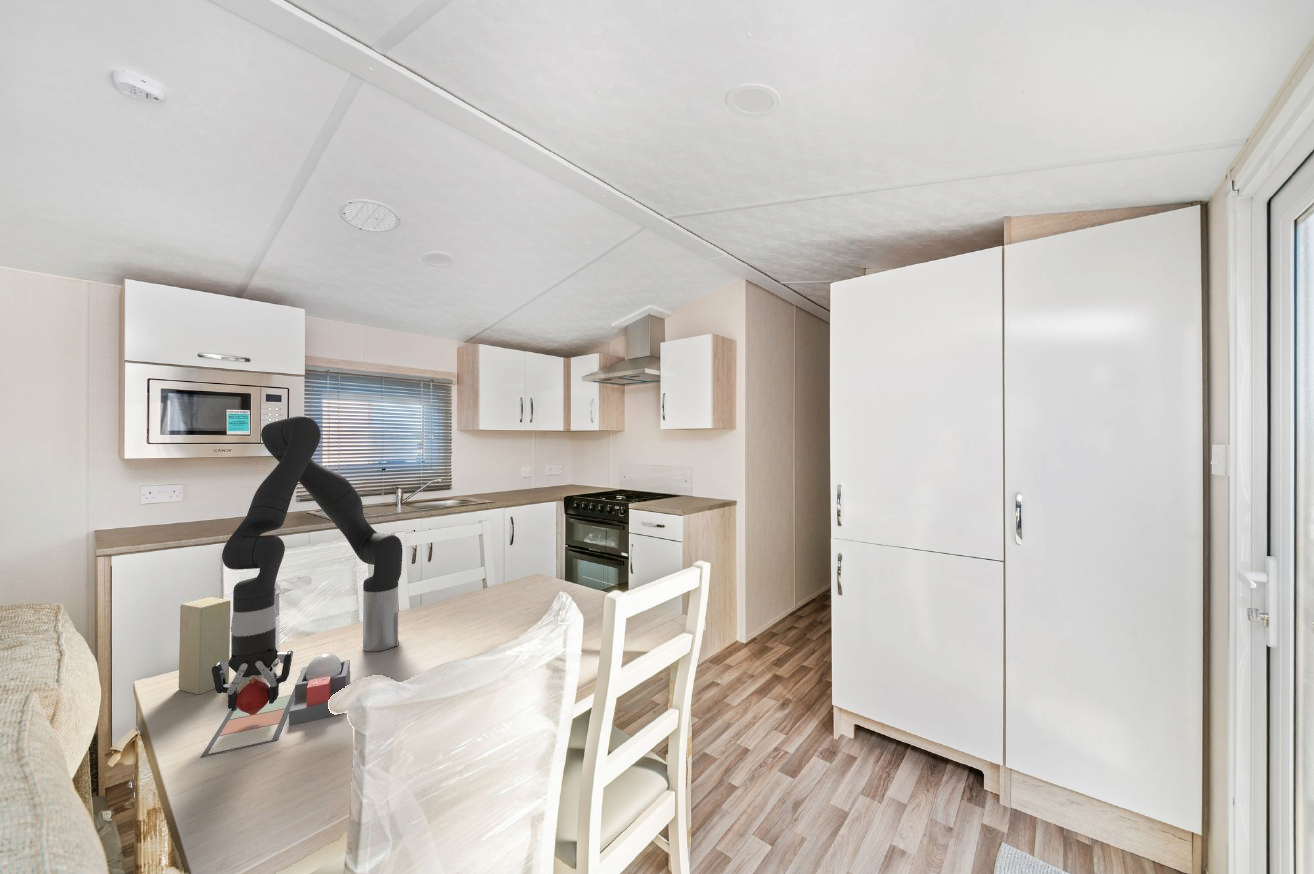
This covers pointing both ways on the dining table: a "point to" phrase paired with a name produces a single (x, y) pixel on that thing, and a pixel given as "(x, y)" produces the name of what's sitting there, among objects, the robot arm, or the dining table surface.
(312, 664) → the white ball
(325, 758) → the dining table surface
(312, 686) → the red die
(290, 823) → the dining table surface
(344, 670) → the grey open tray
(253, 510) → the robot arm
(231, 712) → the game mat
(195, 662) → the tall beige box
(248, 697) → the onion
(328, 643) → the dining table surface
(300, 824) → the dining table surface
